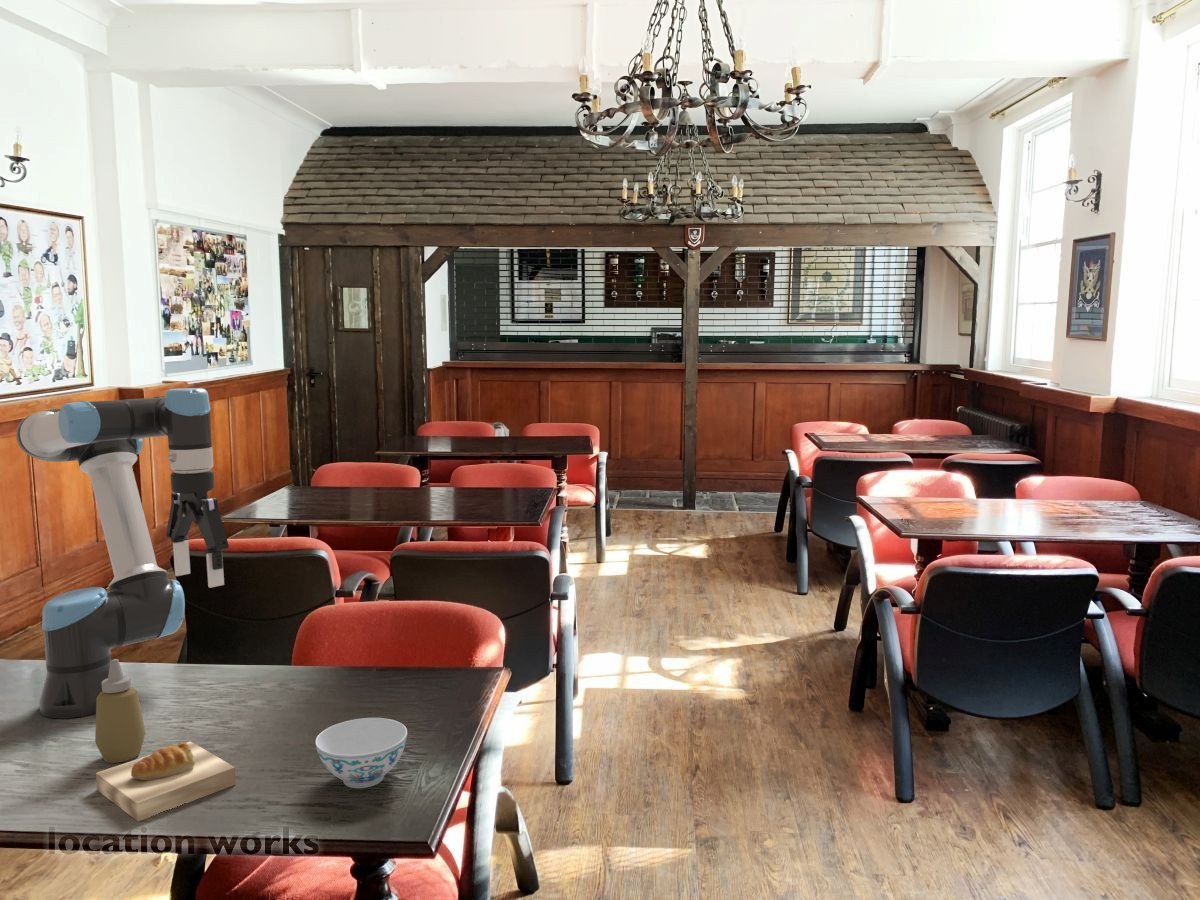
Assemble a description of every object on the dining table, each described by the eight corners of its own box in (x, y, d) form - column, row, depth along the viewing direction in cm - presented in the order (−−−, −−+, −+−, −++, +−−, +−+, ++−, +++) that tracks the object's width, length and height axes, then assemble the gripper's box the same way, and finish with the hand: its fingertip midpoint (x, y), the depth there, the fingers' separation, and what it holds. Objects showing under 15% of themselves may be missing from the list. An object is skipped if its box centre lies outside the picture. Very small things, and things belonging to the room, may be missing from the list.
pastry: (139, 788, 150) (138, 765, 150) (125, 774, 155) (123, 752, 154) (199, 768, 157) (197, 746, 156) (183, 756, 161) (181, 735, 161)
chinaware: (333, 759, 166) (331, 717, 165) (417, 759, 166) (416, 717, 165) (304, 800, 151) (302, 755, 150) (396, 800, 151) (394, 755, 150)
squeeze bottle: (98, 751, 170) (91, 656, 168) (147, 743, 174) (141, 650, 171) (94, 770, 163) (86, 670, 161) (145, 761, 166) (138, 663, 164)
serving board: (97, 790, 156) (95, 773, 155) (191, 757, 168) (190, 741, 167) (138, 821, 145) (136, 803, 145) (236, 784, 157) (234, 767, 157)
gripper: (143, 467, 182) (150, 573, 184) (204, 478, 165) (211, 595, 168) (181, 463, 187) (188, 566, 190) (244, 473, 171) (250, 586, 174)
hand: (199, 580), depth 179 cm, fingers open, 13 cm apart
